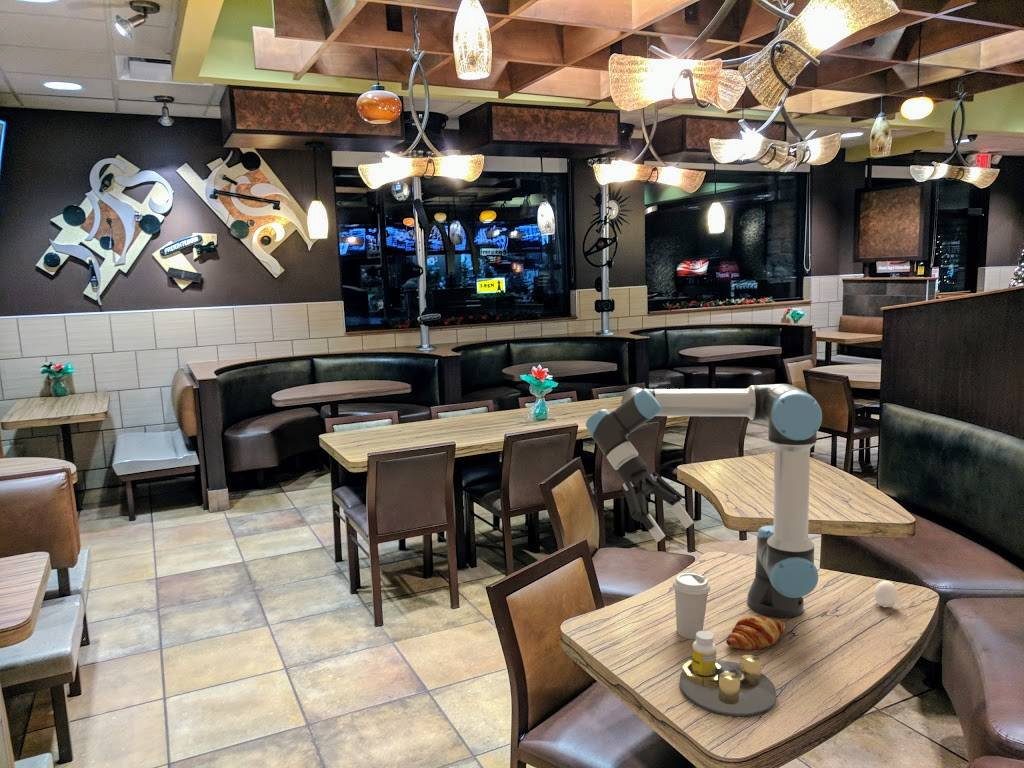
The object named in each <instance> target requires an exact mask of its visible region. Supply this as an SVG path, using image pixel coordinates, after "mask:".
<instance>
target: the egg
mask: <svg viewBox="0 0 1024 768" xmlns="http://www.w3.org/2000/svg"><path fill="white" fill-rule="evenodd" d="M873 595H874V596H873V597H874V600H875V601H876V603H877V604H878V605H879V606H880V605H882V606H887V607H889V608H892V607H894V606H895V605H896V604H897V602H898V599H899V592H898V589H897V588H896V586H895V584H893V583H892V582H891V581H889V580H883V581H880V582H879V583H878V585H877V586H876V587H875V589H874V593H873ZM882 606H881V607H882ZM891 606H892V607H891Z"/></svg>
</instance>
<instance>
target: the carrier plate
mask: <svg viewBox="0 0 1024 768" xmlns="http://www.w3.org/2000/svg"><path fill="white" fill-rule="evenodd" d="M761 671H762V659H761V658H759V656H756V655H752V654H744V655H742V656H741V660H740V663H738V662H734V661H731V660H730V661H729V660H720V659H719V660H718V659H716V670H715V676H714V677H711V678H702V677H699V676H696V675H694V674H692V659H688V660H687V661H686V662H685V663H684V664H683V665H682V667H681V672H680V675H679V689H680V692H681V694H683V696H684V698H686V699H687V700H688V701H689V702H690V703H691V704H693V705H694V706H696V707H698V708H700V709H702V710H704V711H706V712H709V713H712V714H714V715H718V716H722V715H723V717H727V716H731V717H730V718H738V717H744V718H751V717H752V718H754V717H757V716H761V715H763V714H766V713H768V712H769V711H771V710H772V708H774V706H775V705H776V700H777V699H776V698H777V690H776V687H775V685H774V683H773V681H771V679H770V678H769V677H767V676H766V675H765V674H764V673H762V672H761ZM753 716H754V717H753Z"/></svg>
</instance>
